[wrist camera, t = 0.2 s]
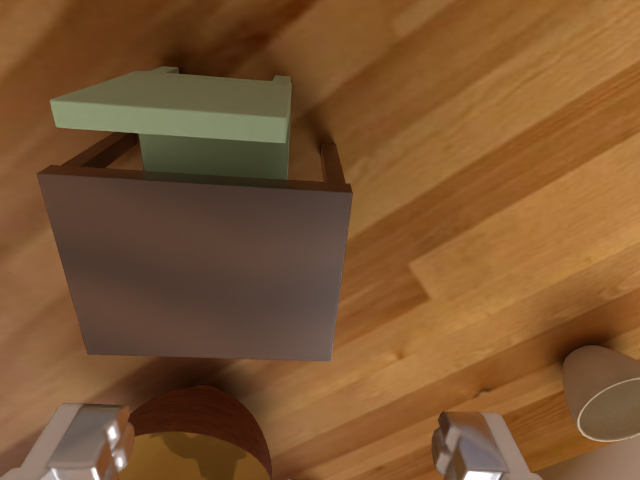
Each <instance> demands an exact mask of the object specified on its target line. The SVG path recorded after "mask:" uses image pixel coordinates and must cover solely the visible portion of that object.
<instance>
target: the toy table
mask: <svg viewBox="0 0 640 480" xmlns="http://www.w3.org/2000/svg"><path fill="white" fill-rule="evenodd" d="M134 145H136V140H135V133H128V132H114V133H112V134H111V135H109V136H108V137H106V138H104V139H103V140H101V141H100V142H98V143H96V144H95V145H93V146H91V147H90V148H88V149H87V150H85V151H83V152H82V153H80V154H79V155H77V156H75V157H74V158H72V159H70V160H69V161H67V162H66V163H64V164H62V165H61V166H57V165H50V166H49V167H47V168H45V169H44V170H42V171H40V172H39V173H37V177H38V180H39V184H40V188H41V191H42V195H43V198H44V202H45V205H46V209H47V212H48V216H49V219H50V223H51V226H52V230H53V234H54V237H55V241H56V244H57V248H58V251H59V255H60V258H61V262H62V265H63V269H64V272H65V276H66V280H67V283H68V287H69V290H70V294H71V297H72V301H73V304H74V308H75V311H76V315H77V318H78V322H79V326H80V329H81V333H82V336H83V340H84V343H85V347H86V350H87V354H92V355H126V356H160V357H194V358H228V359H262V360H296V361H331V356H332V349H333V341H334V333H335V326H336V318H337V310H338V303H339V295H340V287H341V280H342V272H343V264H344V257H345V249H346V241H347V234H348V226H349V218H350V211H351V203H352V195H353V192H352V189H351V185H350V184H346V183H345V179H344V175H343V171H342V167H341V163H340V159H339V155H338V151H337V148H336V144H328V143H322V145H321V163H322V171H323V179H324V182H314V181H298V180H282V179H266V178H250V177H234V176H218V175H202V174H186V173H170V172H154V171H138V170H122V169H105V168H106V167H107V166H109V165H110V164H111V163H112V162H114V161H115V160H116V159H118V158H119V157H120V156H121V155H123V154H124V153H125V152H127V151H128V150H129V149H131V148H132V147H133V146H134Z"/></svg>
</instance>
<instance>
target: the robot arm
mask: <svg viewBox="0 0 640 480" xmlns="http://www.w3.org/2000/svg"><path fill="white" fill-rule="evenodd" d="M129 416H130V411H129V407H128V405H104V404H82V403H63V404H62V405H61V406H60V407H59V408H58V409H57V410H56V411H55V413H54V414H53V416H52V417H51V419H50V421H49V422H48V424H47V425H46V427H45V429H44V430H43V432H42V433H41V435H40V436H39V438H38V440H37V441H36V443H35V444H34V446H33V448H32V449H31V451H30V452H29V454H28V455H27V457H26V459H25V460H24V462H23V463H22V465H21V467H20V468H12V469H11V470H10V471H8V472H7V473H6V474H4V475H3V476H1V477H0V480H119V477H118V473H119V472H120V471H121V470H122V469H123V468H125V467H126V466H127V465H128V462H129V459H130V457H131V454H132V450H133V445H134V437H135V432H134V427H133V425H132V424H131V423H129V422H128V419H129ZM438 422H439V425H440V427H439V428H438V429H436V430H435V431H434V433H433V437H432V455H433V460H434V464H435V467H436V469H437V470H438V471H439V472H440V473H441V474H442V475H443V476H444V479H443V480H543V479H542V478H541V477H540V476H539V475H538V474H534V473H530V471H529V469H528V467H527V465H526V463H525V461H524V459H523V457H522V455H521V453H520V451H519V449H518V447H517V445H516V443H515V441H514V439H513V437H512V435H511V433H510V431H509V429H508V427H507V425H506V423H505V421H504V419H503V417H502V416H501V415H500V414H499V413H493V412H480V413H479V412H442V413H441V414H440V416H439V419H438Z"/></svg>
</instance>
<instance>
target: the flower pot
mask: <svg viewBox="0 0 640 480" xmlns="http://www.w3.org/2000/svg"><path fill="white" fill-rule="evenodd" d="M562 374H563V387H564V392H565V397H566V401H567V404H568V407H569V410H570V412H571V415H572V417H573V419H574V422H575V424H576V425H577V427H578V429H579V431H580V432H581V433H582V435H584V436H585V437H587V438H589V439H591V440H595V441H601V442H612V441H620V440H625V439H629V438H632V437H635V436H638V435H640V362H639V361H637V360H635V359H633V358H631V357H629V356H627V355H624V354H622V353H619V352H617V351H614V350H611V349H608V348H605V347H601V346H597V345H588V346H583V347H580V348H578V349H576V350H574V351H573V352H571V353H570V354H569V355H568V356H567V357H566V358H565V360H564V362H563V371H562Z"/></svg>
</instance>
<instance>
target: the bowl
mask: <svg viewBox="0 0 640 480" xmlns="http://www.w3.org/2000/svg"><path fill="white" fill-rule="evenodd" d="M128 422H129V423H131V424H132V425H133V427H134V432H135V437H134V445H133V450H132V454H131V457H130V459H129V462H128V465H127V466H126V467H125V468H123V469H122V470H121V471H120V472H119V473H118V477H119V480H272V466H271V459H270V453H269V450H268V446H267V443H266V440H265V438H264V435H263V433H262V431H261V428H260V427H259V425H258V423H257V421H256V420H255V418H254V417H253V415H252V414H251V413H250V412H249V410H248V409H247V408H246V407H245V406H244V405H243V404H242V403H240V402H239V401H238V400H236V399H235V398H233V397H231V396H229V395H228V394H226V393H224V392H223V391H221V390H220V389H218V388H215V387H211V386H205V385H199V386H193V387H187V388H181V389H175V390H172V391H169V392H166V393H164V394H161V395H159V396H157V397H155V398H153V399H151V400H150V401H148V402H146V403H145V404H143V405H142V406H140V407H139V408H138V409H136V410H135V411H134V412H133V413H132V414H130V416H129V419H128Z"/></svg>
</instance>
